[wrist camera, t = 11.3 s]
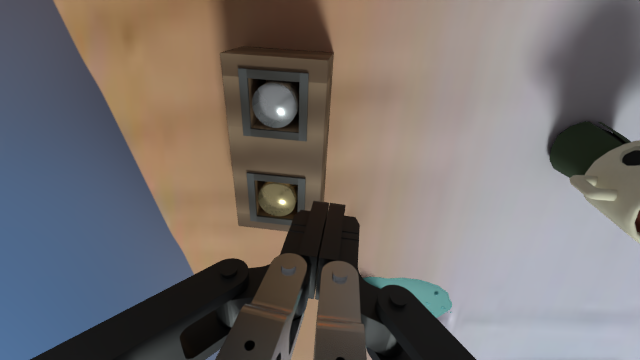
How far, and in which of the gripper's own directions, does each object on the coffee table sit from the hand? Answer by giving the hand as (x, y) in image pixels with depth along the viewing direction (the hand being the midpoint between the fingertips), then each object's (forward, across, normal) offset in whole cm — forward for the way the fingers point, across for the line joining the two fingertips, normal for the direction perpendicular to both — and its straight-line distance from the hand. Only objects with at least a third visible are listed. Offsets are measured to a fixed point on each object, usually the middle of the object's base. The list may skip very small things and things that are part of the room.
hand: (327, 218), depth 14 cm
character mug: (+24, -26, +3) cm, 35 cm away
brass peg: (+23, +7, +11) cm, 26 cm away
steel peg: (+23, +7, 0) cm, 24 cm away
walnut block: (+23, +7, +6) cm, 25 cm away
